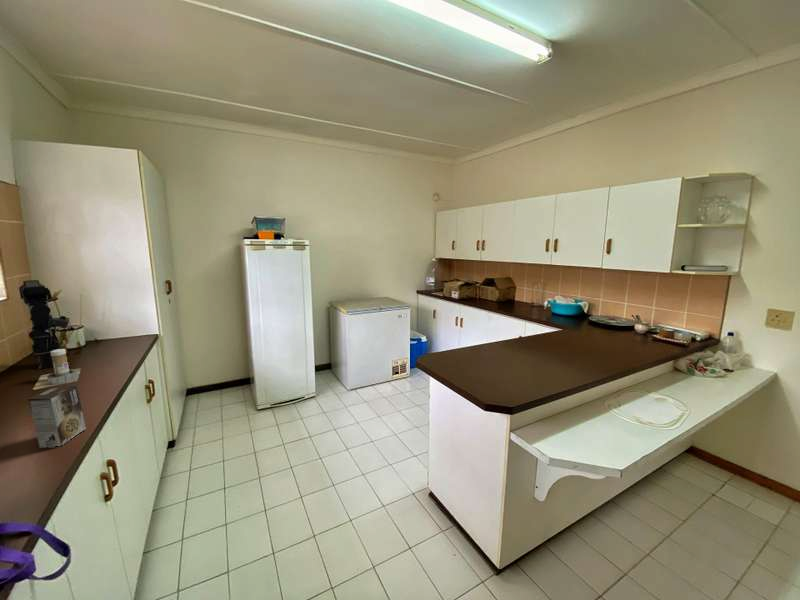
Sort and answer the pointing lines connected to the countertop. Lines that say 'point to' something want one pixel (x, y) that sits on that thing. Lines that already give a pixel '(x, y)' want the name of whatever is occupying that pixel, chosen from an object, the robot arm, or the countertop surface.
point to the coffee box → (57, 415)
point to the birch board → (44, 381)
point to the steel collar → (62, 377)
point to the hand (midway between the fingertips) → (47, 347)
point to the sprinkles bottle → (60, 362)
